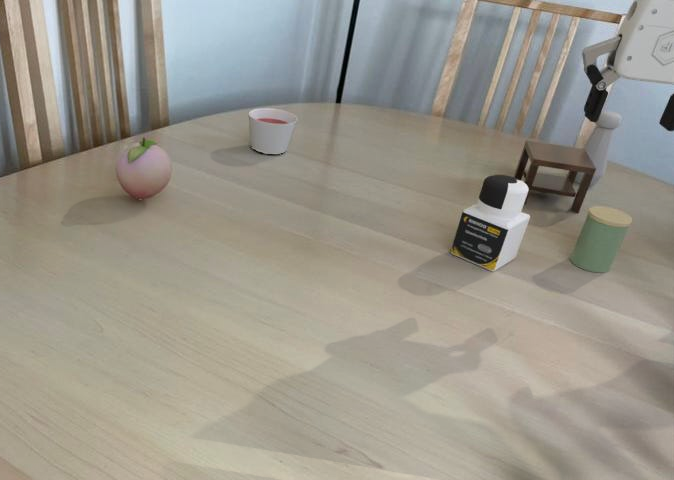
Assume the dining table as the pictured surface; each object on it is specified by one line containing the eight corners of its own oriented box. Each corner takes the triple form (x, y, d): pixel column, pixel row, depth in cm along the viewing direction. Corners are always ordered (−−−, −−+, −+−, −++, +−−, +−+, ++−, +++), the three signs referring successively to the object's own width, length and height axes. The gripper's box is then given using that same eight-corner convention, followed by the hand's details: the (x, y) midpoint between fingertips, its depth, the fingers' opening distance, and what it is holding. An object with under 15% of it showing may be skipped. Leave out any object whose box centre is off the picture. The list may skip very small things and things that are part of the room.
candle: (269, 138, 146) (273, 105, 142) (301, 153, 140) (307, 119, 137) (235, 145, 141) (238, 112, 137) (267, 161, 135) (272, 126, 132)
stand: (568, 191, 135) (584, 149, 131) (578, 213, 127) (596, 168, 123) (511, 182, 137) (525, 140, 132) (518, 203, 129) (533, 158, 124)
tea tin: (605, 258, 113) (627, 210, 109) (614, 276, 108) (637, 226, 104) (566, 251, 114) (585, 203, 109) (573, 269, 109) (593, 219, 105)
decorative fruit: (163, 216, 113) (166, 152, 107) (110, 208, 113) (111, 144, 108) (174, 192, 120) (178, 131, 115) (125, 185, 121) (126, 124, 115)
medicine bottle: (448, 253, 110) (472, 176, 103) (472, 240, 114) (496, 166, 108) (493, 273, 106) (520, 194, 99) (515, 259, 110) (543, 182, 104)
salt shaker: (570, 184, 139) (596, 114, 131) (565, 173, 143) (590, 105, 136) (603, 189, 138) (631, 119, 130) (596, 178, 142) (624, 110, 135)
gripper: (623, -24, 85) (569, 124, 95) (779, -7, 84) (708, 141, 94) (601, -33, 91) (553, 107, 101) (746, -18, 90) (683, 122, 100)
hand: (628, 123), depth 97 cm, fingers open, 9 cm apart
